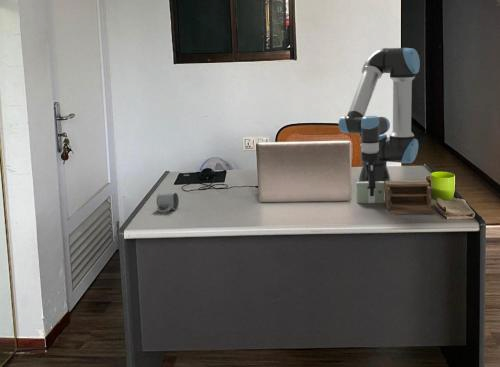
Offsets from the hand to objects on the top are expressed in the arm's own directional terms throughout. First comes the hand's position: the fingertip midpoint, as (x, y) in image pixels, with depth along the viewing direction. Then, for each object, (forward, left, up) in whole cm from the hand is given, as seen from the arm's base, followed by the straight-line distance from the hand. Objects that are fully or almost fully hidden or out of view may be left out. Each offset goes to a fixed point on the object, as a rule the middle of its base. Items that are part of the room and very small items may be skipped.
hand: (370, 199), depth 340 cm
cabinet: (+12, +15, -1) cm, 19 cm away
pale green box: (0, 0, -1) cm, 1 cm away
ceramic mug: (+7, -89, -2) cm, 89 cm away
